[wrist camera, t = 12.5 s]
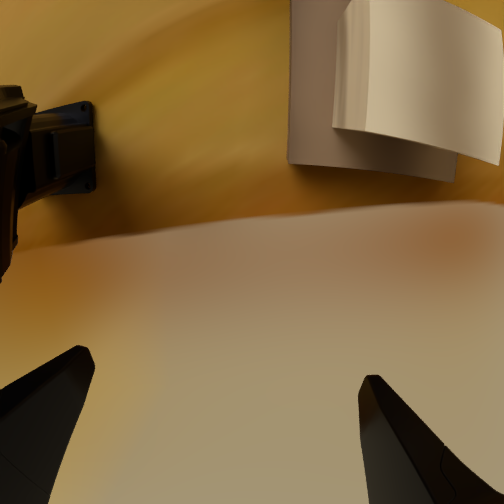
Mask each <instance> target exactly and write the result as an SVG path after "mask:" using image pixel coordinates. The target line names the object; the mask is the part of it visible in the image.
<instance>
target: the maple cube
mask: <svg viewBox="0 0 504 504" xmlns="http://www.w3.org/2000/svg"><path fill="white" fill-rule="evenodd" d="M503 120H504V55H503V43H502V33H501V30H500V29H498V28H497V27H495V26H493V25H491V24H490V23H488V22H486V21H484V20H483V19H481V18H479V17H477V16H475V15H473V14H471V13H469V12H467V11H465V10H463V9H461V8H459V7H457V6H455V5H452V4H450V3H448V2H446V1H443V0H351V2H350V3H349V5H348V6H347V8H346V10H345V11H344V13H343V14H342V16H341V17H340V19H339V20H338V22H337V55H336V78H335V95H334V110H333V123H332V127H334V128H341V129H348V130H354V131H360V132H366V133H372V134H377V135H383V136H388V137H393V138H398V139H402V140H407V141H411V142H416V143H420V144H424V145H428V146H432V147H436V148H440V149H444V150H448V151H452V152H455V153H459V154H462V155H466V156H469V157H473V158H476V159H479V160H483V161H486V162H489V163H492V164H495V165H498V166H499V159H500V152H501V143H502V133H503Z"/></svg>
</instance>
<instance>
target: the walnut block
mask: <svg viewBox="0 0 504 504" xmlns="http://www.w3.org/2000/svg"><path fill="white" fill-rule="evenodd" d="M350 2H351V0H290V57H289V108H288V140H287V160H288V163H289V164H305V165H319V166H331V167H343V168H353V169H362V170H371V171H380V172H387V173H395V174H402V175H409V176H416V177H422V178H428V179H434V180H440V181H446V182H451V183H454V178H455V171H456V163H457V154H458V153H455V152H452V151H448V150H444V149H440V148H436V147H432V146H428V145H424V144H420V143H416V142H411V141H407V140H402V139H398V138H393V137H388V136H383V135H377V134H372V133H366V132H360V131H354V130H348V129H341V128H334V127H332V123H333V110H334V95H335V78H336V55H337V22H338V20H339V19H340V17H341V16H342V14H343V13H344V11H345V10H346V8H347V6H348V5H349V3H350Z"/></svg>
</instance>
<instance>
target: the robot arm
mask: <svg viewBox="0 0 504 504" xmlns="http://www.w3.org/2000/svg"><path fill="white" fill-rule="evenodd" d="M24 98H25V97H23V93H22V89H21V86H17V85H0V283H1V282H2V276H3V275H4V273H5V272H6V270H7V269H8V267H9V266H10V263H11V258H12V251H13V250H14V248H15V247H16V245H17V244H18V235H17V215H18V210H19V209H21V208H23V207H25V206H27V205H29V204H31V203H33V202H35V201H38V200H40V199H42V198H44V197H46V196H48V195H58V194H79V193H91V192H93V191H94V190H95V189H96V177H95V151H94V129H93V106H92V103H91V102H90V101H81V102H77V103H73V104H68V105H64V106H60V107H56V108H53V109H49V110H45V111H42V112H38V113H35V112H36V108H37V105H36V104H33V103H30V102H28V101H27V100H24ZM85 105H86V107H87V108H86V110H84V106H85ZM88 183H89V184H90V188H89V187H88ZM94 371H95V364H94V361H93V359H92V356H91V354H90V351H89V349H88V348H87V347H84V346H80V345H76V346H74V347H73V348H71V349H69V350H68V351H66V352H64V353H62V354H61V355H59V356H57V357H55V358H54V359H52V360H50V361H49V362H47V363H45V364H43V365H42V366H40V367H38V368H36V369H35V370H33V371H31V372H29V373H28V374H26V375H24V376H23V377H21V378H19V379H17V380H16V381H14V382H12V383H10V384H9V385H7V386H5V387H4V388H3V389H0V504H48V502H49V499H50V495H51V492H52V489H53V485H54V482H55V479H56V476H57V473H58V470H59V468H60V465H61V462H62V459H63V456H64V454H65V451H66V448H67V445H68V443H69V440H70V438H71V435H72V433H73V430H74V428H75V425H76V422H77V420H78V418H79V415H80V413H81V410H82V408H83V405H84V402H85V399H86V396H87V393H88V390H89V386H90V383H91V380H92V377H93V374H94ZM358 404H359V423H360V440H361V448H362V454H363V461H364V467H365V475H366V482H367V489H368V498H369V504H504V494H501V493H499V492H497V491H496V490H494V489H493V488H492V487H491V486H489V485H488V484H487V483H486V482H485V481H483V480H482V479H481V478H480V477H479V476H477V475H476V474H475V473H474V472H472V471H471V470H470V469H469V468H468V467H467V466H466V465H465V464H463V463H462V462H461V461H460V460H459V459H458V458H457V457H456V456H455V455H454V454H453V453H452V452H451V451H450V449H449V448H448V447H447V446H444V443H443V442H442V441H441V440H440V439H439V438H438V437H437V436H436V435H435V434H434V433H433V432H432V430H431V429H430V428H429V427H428V426H427V425H426V424H425V423H424V422H423V421H422V420H421V419H420V418H419V417H418V416H417V414H416V413H415V412H414V411H413V410H412V409H411V408H410V407H409V406H408V405H407V404H406V403H405V402H404V401H403V400H402V399H401V398H400V397H399V395H398V394H397V393H396V392H395V391H394V390H393V389H392V388H391V387H390V386H389V385H388V384H387V383H386V382H385V381H384V380H383V379H382V377H381V376H379V375H367V376H366V377H365V378H364V381H363V383H362V386H361V388H360V390H359V394H358Z"/></svg>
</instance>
